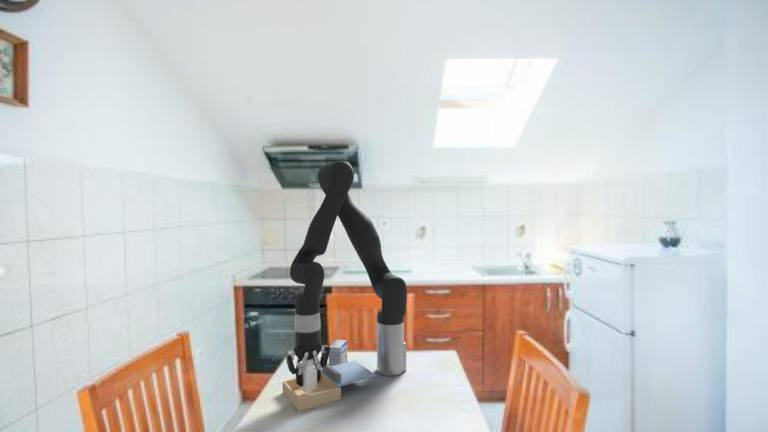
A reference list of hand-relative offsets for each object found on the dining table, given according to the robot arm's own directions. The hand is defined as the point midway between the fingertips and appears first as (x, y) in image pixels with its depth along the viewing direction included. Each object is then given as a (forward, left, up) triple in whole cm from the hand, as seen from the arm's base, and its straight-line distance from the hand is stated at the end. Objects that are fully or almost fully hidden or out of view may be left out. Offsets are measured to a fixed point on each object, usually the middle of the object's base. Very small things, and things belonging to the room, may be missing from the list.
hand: (308, 383), depth 123 cm
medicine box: (-17, -14, -4) cm, 22 cm away
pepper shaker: (0, 0, -2) cm, 2 cm away
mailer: (-1, 0, -4) cm, 4 cm away
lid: (-13, 0, 0) cm, 13 cm away
